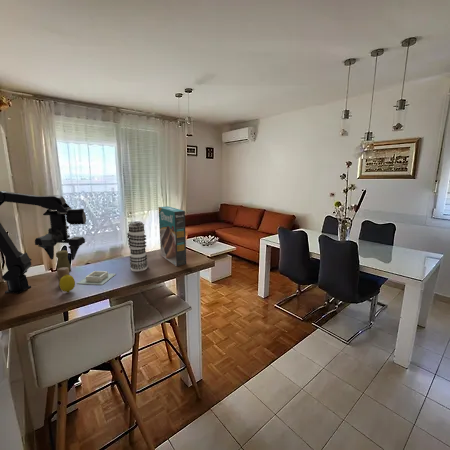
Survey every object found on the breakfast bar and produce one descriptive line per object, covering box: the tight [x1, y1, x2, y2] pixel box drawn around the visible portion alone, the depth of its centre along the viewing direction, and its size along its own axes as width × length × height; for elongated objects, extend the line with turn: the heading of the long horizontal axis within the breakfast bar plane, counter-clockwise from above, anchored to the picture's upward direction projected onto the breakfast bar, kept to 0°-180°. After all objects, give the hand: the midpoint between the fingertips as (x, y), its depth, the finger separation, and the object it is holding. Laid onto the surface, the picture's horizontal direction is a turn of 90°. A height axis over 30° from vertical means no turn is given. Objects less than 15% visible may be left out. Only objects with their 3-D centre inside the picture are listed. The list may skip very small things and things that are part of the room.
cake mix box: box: [158, 205, 187, 267], centre depth 142 cm, size 22×6×30 cm, turn 36°
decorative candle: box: [126, 220, 148, 272], centre depth 129 cm, size 9×9×25 cm
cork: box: [55, 250, 72, 273], centre depth 125 cm, size 6×6×11 cm
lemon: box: [58, 274, 76, 293], centre depth 104 cm, size 6×6×8 cm
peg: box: [56, 267, 70, 283], centre depth 112 cm, size 4×4×7 cm
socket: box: [76, 270, 117, 286], centre depth 118 cm, size 12×12×2 cm
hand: (62, 259), depth 109 cm, fingers open, 9 cm apart
